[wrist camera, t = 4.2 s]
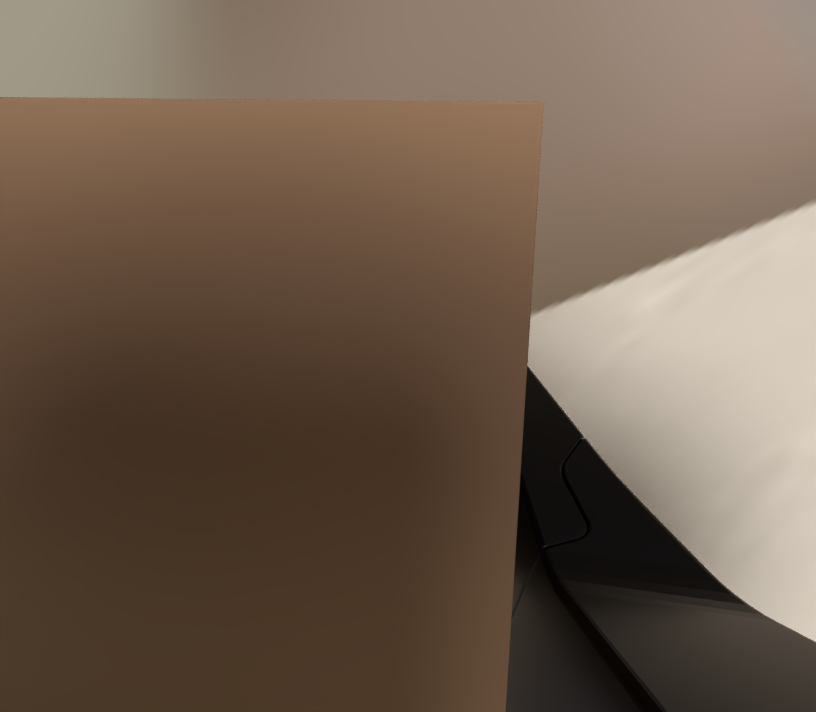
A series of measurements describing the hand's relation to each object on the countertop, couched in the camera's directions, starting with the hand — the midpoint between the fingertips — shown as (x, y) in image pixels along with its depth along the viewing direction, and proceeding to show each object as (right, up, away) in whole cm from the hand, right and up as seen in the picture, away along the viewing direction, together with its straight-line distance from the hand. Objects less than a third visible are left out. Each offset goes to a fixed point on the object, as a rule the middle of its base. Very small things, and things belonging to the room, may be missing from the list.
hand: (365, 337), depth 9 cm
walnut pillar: (+1, -2, +6) cm, 7 cm away
